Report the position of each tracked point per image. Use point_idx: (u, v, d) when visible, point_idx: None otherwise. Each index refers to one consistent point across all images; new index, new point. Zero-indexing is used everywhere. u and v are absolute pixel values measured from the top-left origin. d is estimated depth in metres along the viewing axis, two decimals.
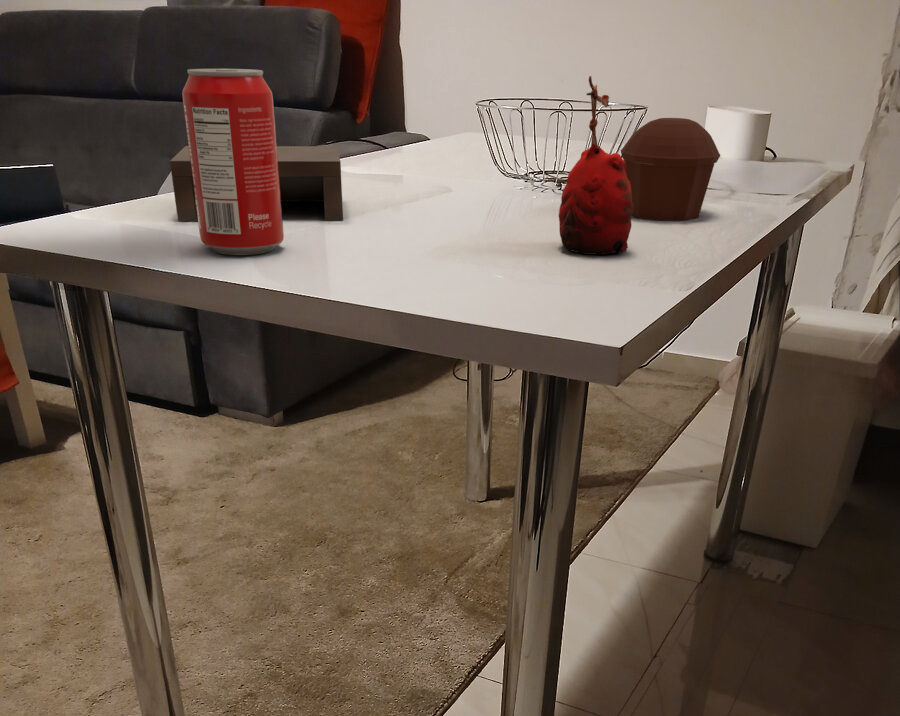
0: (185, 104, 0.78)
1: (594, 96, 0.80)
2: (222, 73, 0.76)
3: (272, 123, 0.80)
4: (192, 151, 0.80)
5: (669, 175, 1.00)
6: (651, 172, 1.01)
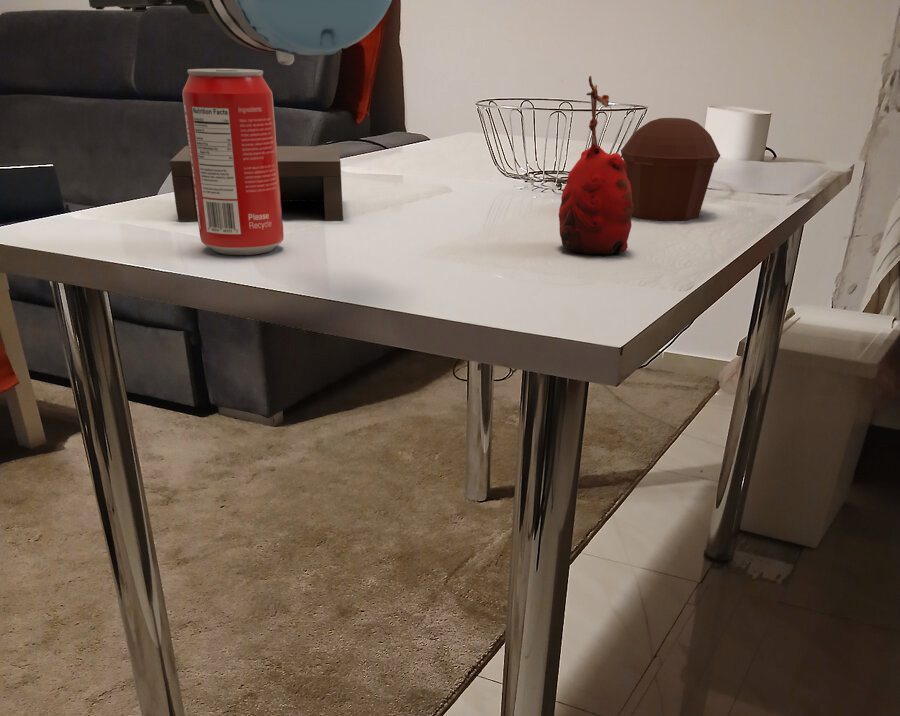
0: (185, 104, 0.78)
1: (594, 96, 0.80)
2: (222, 73, 0.76)
3: (272, 123, 0.80)
4: (192, 151, 0.80)
5: (669, 175, 1.00)
6: (651, 172, 1.01)
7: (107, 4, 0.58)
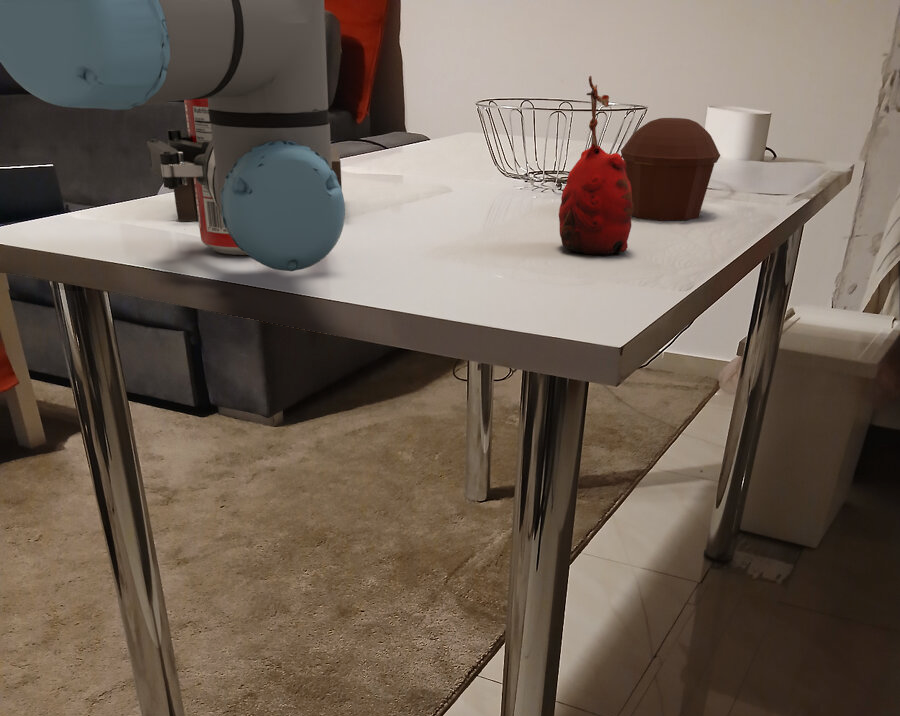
0: (186, 103, 0.78)
1: (594, 96, 0.80)
2: None
3: None
4: None
5: (669, 175, 1.00)
6: (651, 172, 1.01)
7: (156, 175, 0.77)
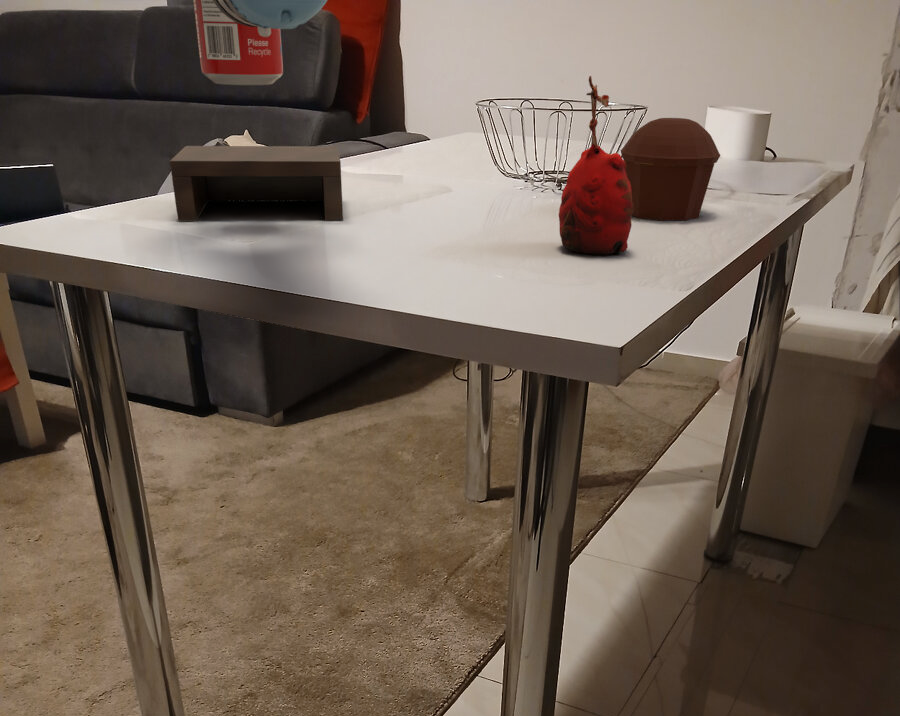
0: None
1: (594, 96, 0.80)
2: None
3: None
4: None
5: (669, 175, 1.00)
6: (651, 173, 1.01)
7: None
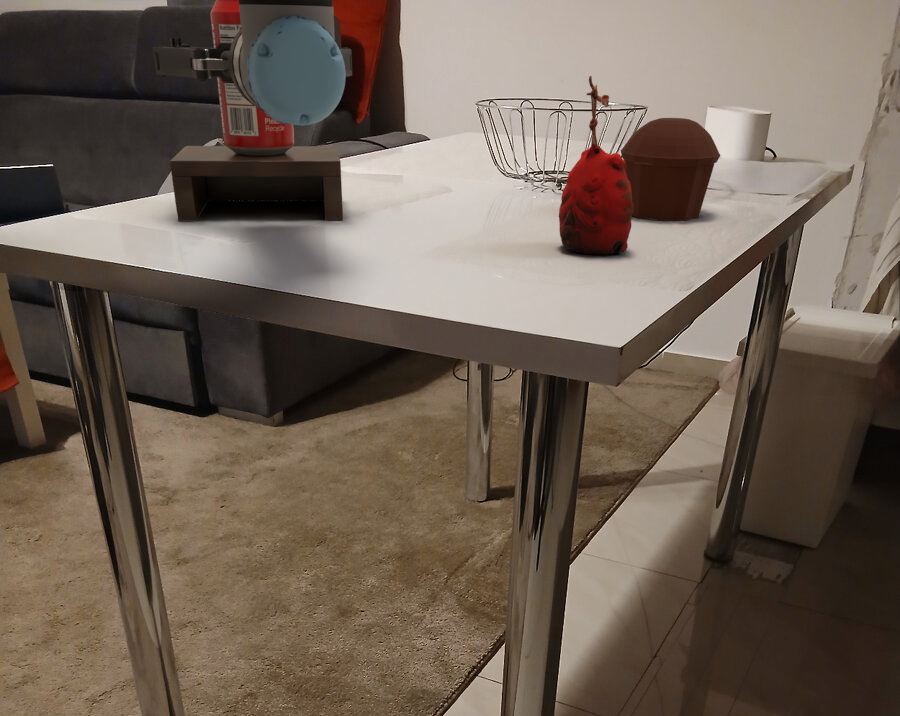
0: (213, 23, 0.94)
1: (594, 96, 0.80)
2: None
3: None
4: None
5: (669, 175, 1.00)
6: (651, 172, 1.01)
7: (169, 75, 0.90)
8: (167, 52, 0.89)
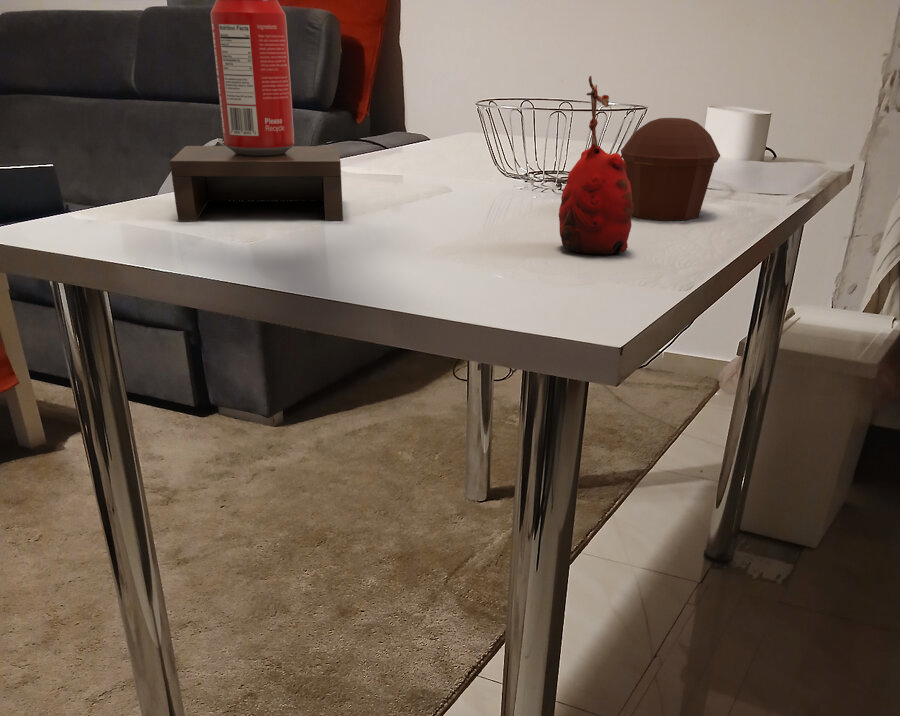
0: (213, 23, 0.94)
1: (594, 96, 0.80)
2: None
3: (285, 40, 0.96)
4: (218, 63, 0.95)
5: (669, 175, 1.00)
6: (651, 172, 1.01)
7: None
8: None
